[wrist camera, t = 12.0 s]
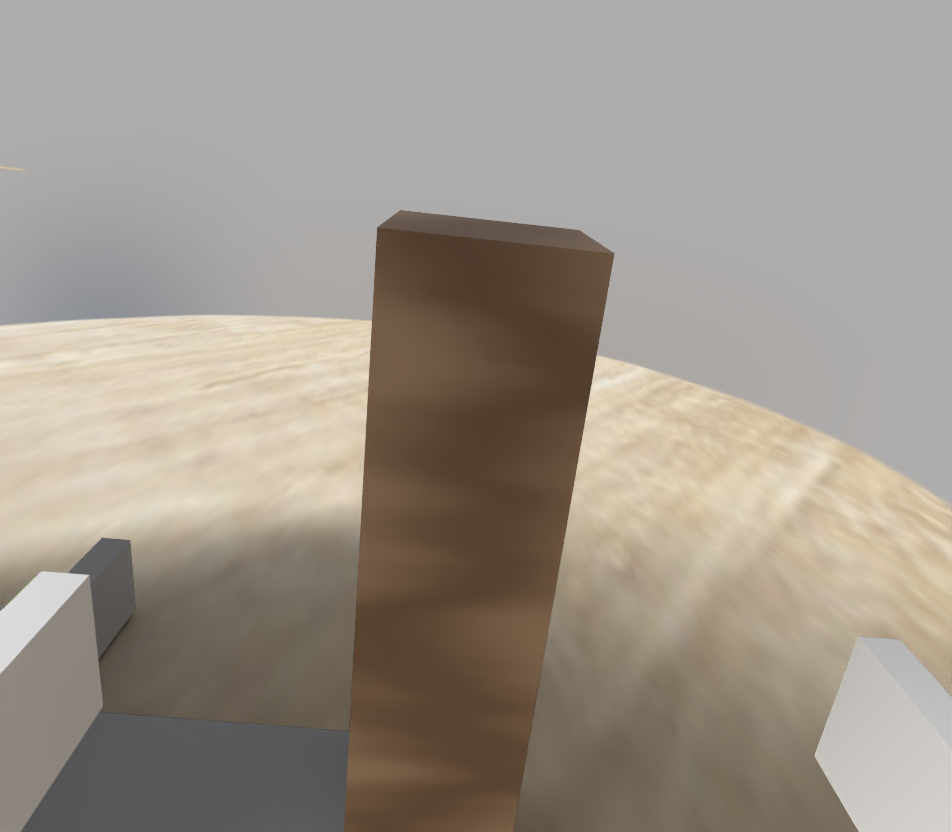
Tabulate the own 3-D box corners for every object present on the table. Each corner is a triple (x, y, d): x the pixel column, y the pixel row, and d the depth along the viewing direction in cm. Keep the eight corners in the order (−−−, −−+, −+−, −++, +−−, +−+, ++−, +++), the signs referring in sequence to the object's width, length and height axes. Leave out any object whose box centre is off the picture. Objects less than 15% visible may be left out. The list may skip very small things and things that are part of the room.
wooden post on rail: (-389, 1223, 11) (-1079, 151, 5) (108, 606, 26) (65, 156, 20) (515, 1262, 12) (749, 343, 6) (489, 638, 27) (549, 210, 21)
